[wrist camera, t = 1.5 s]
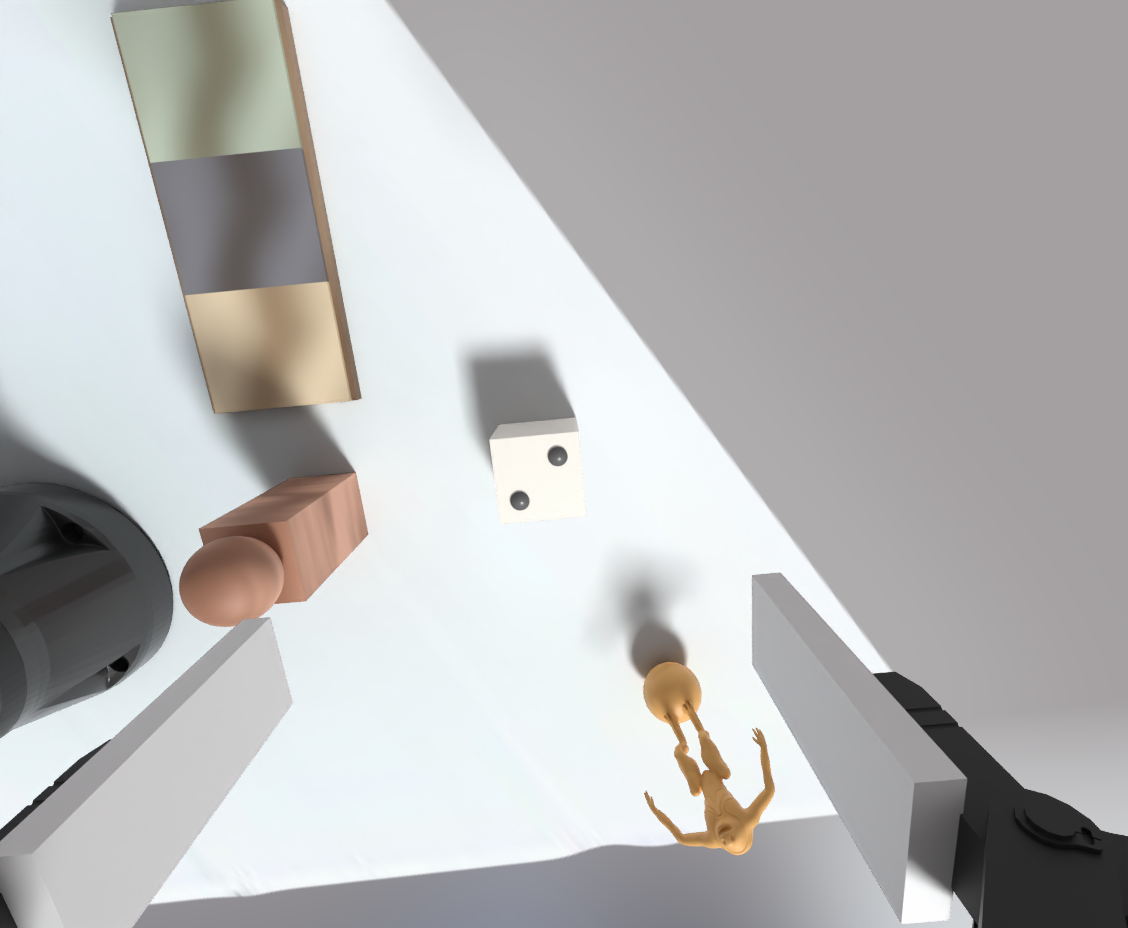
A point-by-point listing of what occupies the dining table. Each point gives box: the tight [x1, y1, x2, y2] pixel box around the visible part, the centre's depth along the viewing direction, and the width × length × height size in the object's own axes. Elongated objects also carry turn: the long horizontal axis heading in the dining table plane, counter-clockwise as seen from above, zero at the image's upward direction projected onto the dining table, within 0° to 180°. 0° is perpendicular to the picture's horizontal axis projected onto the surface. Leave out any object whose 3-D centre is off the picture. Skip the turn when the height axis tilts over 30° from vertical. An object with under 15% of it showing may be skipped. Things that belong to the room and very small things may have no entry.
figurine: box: [643, 662, 775, 855], centre depth 33 cm, size 8×6×12 cm
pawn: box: [179, 472, 368, 627], centre depth 29 cm, size 4×4×13 cm
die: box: [489, 417, 586, 524], centre depth 32 cm, size 5×5×5 cm
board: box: [110, 0, 361, 414], centre depth 30 cm, size 9×21×1 cm, turn 5°
